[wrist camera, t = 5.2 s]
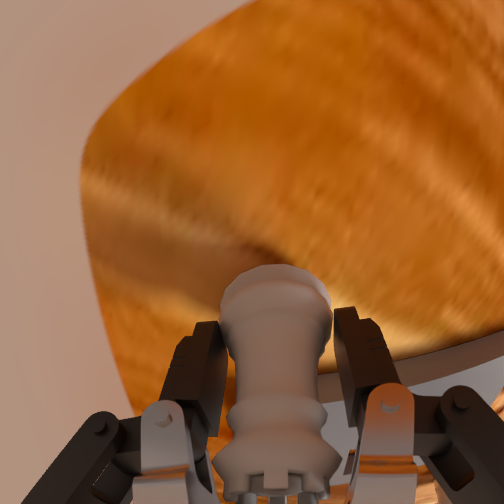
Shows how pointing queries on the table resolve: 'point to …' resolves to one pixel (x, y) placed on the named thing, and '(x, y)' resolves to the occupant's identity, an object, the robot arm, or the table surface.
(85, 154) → the table surface
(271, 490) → the rook chess piece
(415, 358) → the socket dock
